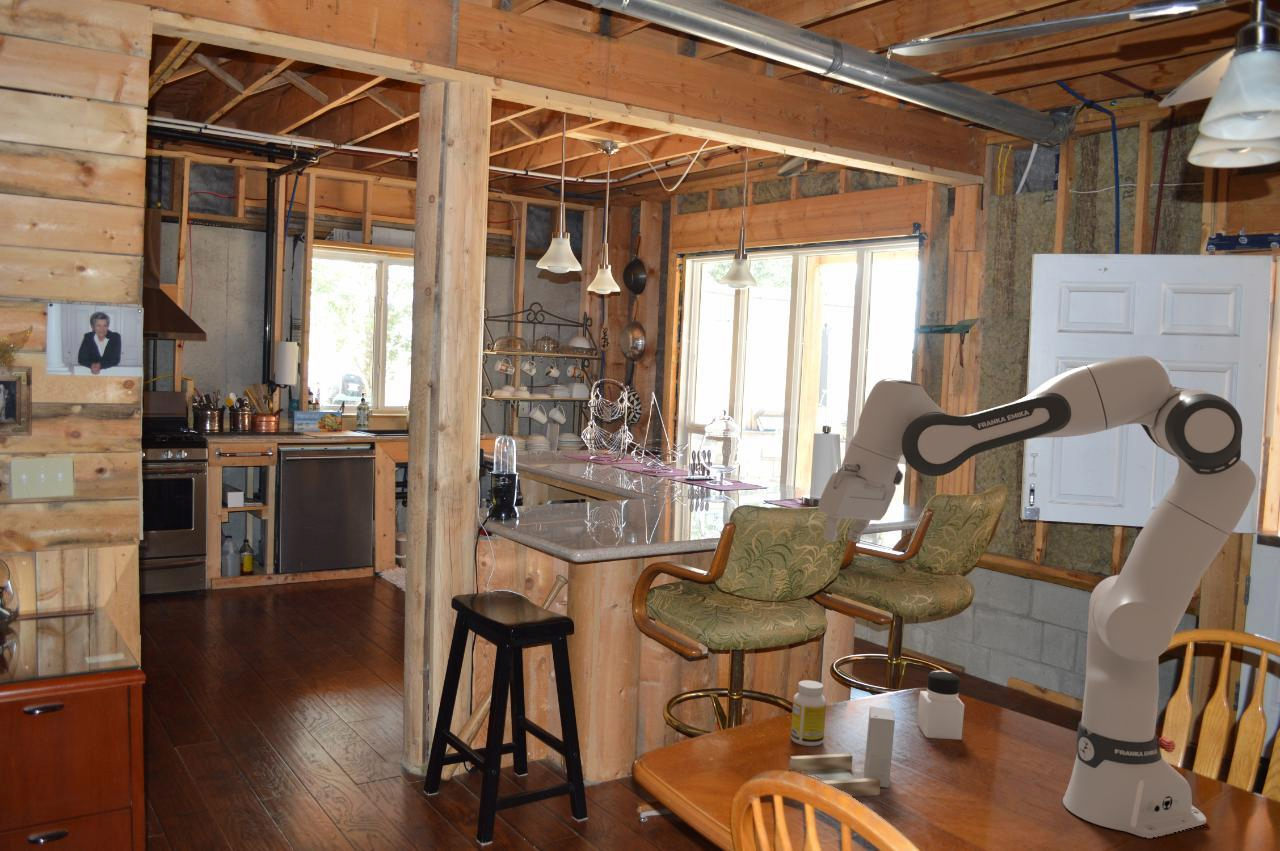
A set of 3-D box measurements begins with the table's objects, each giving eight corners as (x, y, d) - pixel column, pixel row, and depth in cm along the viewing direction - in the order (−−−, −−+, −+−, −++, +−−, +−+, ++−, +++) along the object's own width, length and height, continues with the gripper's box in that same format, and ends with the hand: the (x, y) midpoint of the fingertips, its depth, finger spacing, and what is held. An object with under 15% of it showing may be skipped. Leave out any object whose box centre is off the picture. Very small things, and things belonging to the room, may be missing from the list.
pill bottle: (828, 740, 195) (832, 683, 195) (815, 750, 190) (820, 692, 189) (798, 731, 199) (802, 676, 198) (785, 741, 194) (789, 684, 193)
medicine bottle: (962, 740, 200) (967, 680, 199) (925, 738, 200) (931, 678, 199) (951, 726, 207) (957, 669, 206) (916, 724, 207) (921, 666, 206)
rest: (848, 766, 183) (849, 753, 183) (879, 794, 172) (880, 780, 172) (789, 770, 180) (790, 756, 180) (816, 798, 169) (817, 784, 169)
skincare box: (889, 788, 175) (895, 720, 174) (864, 785, 176) (869, 717, 175) (888, 774, 181) (893, 708, 180) (863, 771, 182) (869, 705, 181)
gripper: (858, 469, 167) (829, 547, 168) (907, 476, 183) (879, 548, 185) (826, 456, 170) (797, 532, 172) (876, 464, 187) (850, 534, 189)
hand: (840, 540), depth 179 cm, fingers open, 8 cm apart
